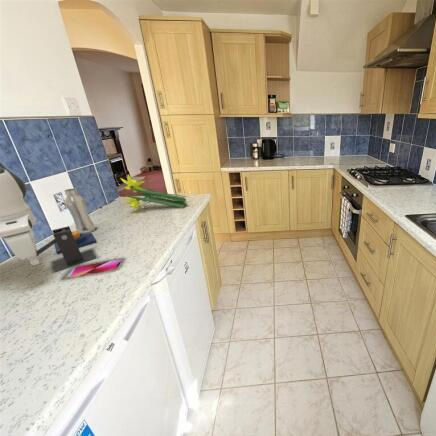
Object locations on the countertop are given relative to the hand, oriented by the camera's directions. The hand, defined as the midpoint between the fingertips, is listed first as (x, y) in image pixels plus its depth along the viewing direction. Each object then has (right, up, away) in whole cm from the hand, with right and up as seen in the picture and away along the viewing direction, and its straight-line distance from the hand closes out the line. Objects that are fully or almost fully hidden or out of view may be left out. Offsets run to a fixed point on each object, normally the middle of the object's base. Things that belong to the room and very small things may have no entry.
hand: (35, 260), depth 78 cm
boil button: (-3, +6, +17) cm, 19 cm away
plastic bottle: (-8, +7, +30) cm, 32 cm away
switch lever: (+3, +4, +2) cm, 6 cm away
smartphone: (+17, -4, +3) cm, 18 cm away
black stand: (+6, -2, +8) cm, 10 cm away
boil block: (-3, +2, +19) cm, 19 cm away
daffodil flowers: (+8, +20, +58) cm, 62 cm away
